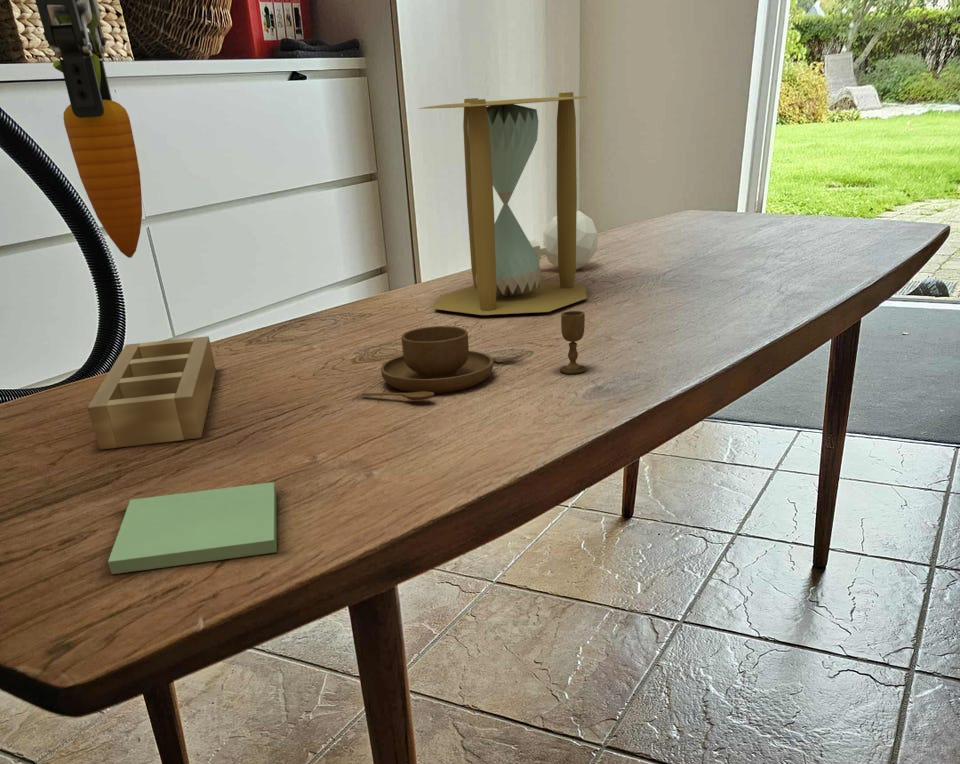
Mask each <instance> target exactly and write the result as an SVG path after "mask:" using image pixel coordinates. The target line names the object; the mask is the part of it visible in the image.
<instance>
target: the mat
mask: <svg viewBox="0 0 960 764" xmlns="http://www.w3.org/2000/svg"><path fill="white" fill-rule="evenodd" d="M277 507H278V506H277V489H276V483H275V482H274V481H271V482H270V481H269V482H262V483H255V484H247V485H240V486H239V485H238V486H230V487H223V488H214V489H206V490H197V491H189V492H181V493H173V494H166V495H157V496H150V497H141V498H133V499H130V500H129V502H128V505H127V507H126V510H125V513H124V516H123V518H122V521H121V524H120V527H119V530H118V532H117V535H116V538H115V541H114V544H113V546H112V549H111V552H110V555H109V558H108V561H107V563H108V567H109V570H110V574H111V575H118V574H125V573H133V572H140V571H141V572H142V571H147V570H156V569H164V568H169V567H170V568H171V567H177V566H187V565H192V564H199V563H200V564H201V563H208V562H216V561H224V560H230V559H237V558H245V557H252V556H260V555H268V554H275V553H277V550H278V548H277V547H278V545H277V543H278V541H277V539H278V537H277V536H278V535H277V534H278V532H277V525H278V522H277V521H278V519H277V513H278V512H277V509H278V508H277Z"/></svg>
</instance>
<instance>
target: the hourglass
mask: <svg viewBox="0 0 960 764" xmlns="http://www.w3.org/2000/svg"><path fill="white" fill-rule="evenodd" d="M586 98H588V96H583V95H582V96H575V95H574V92H573V91H568V92H559V93H558V96H556V97H555V96H554V97H531V98H516V99H514V98H513V99H503V100H502V99H500V100H487V101H486V98H482V99H481V98H480V99H479V98H478V97H474V98H464V99H463V102H462V103H461V102H459V103H449V104H447V103H446V104H438V105H431V106H424V107H420V108H417V109H418V110H421V109H422V110H424V109H453V108H463V123H462V128H463V129H462V130H463V150H464V169H465V170H464V171H465V172H464V173H465V191H466V193H465V194H466V209H467V211H466V212H467V224H468V237H469V239H468V240H469V251H470V266H471V274H472V281H473V285H471V286H467V287H464V288H461V289H458V290H454V291H451V292H447V293H443V294H441V295H439V297H438V299H437V301H436V303H435V305H434V307H433V310H440V311H445V312H446V311H447V312H453V313H454V312H455V313H462V314H471V315H477V316H478V315H479V316H491V315H492V316H493V315H509V314H529V313H530V314H531V313H550V312H552V311H555V310H557V309H561V308H563V307H566V306H569V305H572V304H574V303H578V302H580V301H584V300H586V299H588V295H587V290H586V285H585V284H576V283H575V280H576V272H577V270H576V214H577V211H578V210H577V206H578V205H577V204H578V202H577V201H578V197H577V196H578V195H577V194H578V192H577V190H578V189H577V188H578V187H577V185H578V184H577V117H576V108H575V100H577V99H586ZM557 101H558V102H557ZM545 102H557V114H556V216H557V236H558V267H557V268H558V279H559V282H553V281H542V271H541V266H540V260H539V259H538V257H537V255H536V253H535V251H534V249H533V247H532V246H531V244H530V242H529V241H530V240H529V239H528V237H527V235H526V233H525V232H524V230H523V228H522V226H521V225H520V223H519V221H518V219H517V218H516V216H515V214H514V213H513V211H512V209H511V208H510V205H509V202H510V200H511V198H512V196H513V194H514V191H515V189H516V187H517V185H518V182H519V181H520V178H521V176H522V174H523V172H524V170H525V167H526V166H527V164H528V161H529V160H530V157H531V155H532V152H533V151H534V149H535V146H536V143H537V141H538V133H539V117H538V111H537V110H538V109H536V108H532V107H528V106H524V105H522V104H534V103H535V104H536V103H545ZM519 104H521V105H519ZM494 190H495V192H496V194H497V195H498V197H499V200H500V201H501V202H502V207H501V209H500V211H499V213H498V215H497V217H496V220H495V203H494V202H495V201H494Z"/></svg>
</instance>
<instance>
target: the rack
mask: <svg viewBox="0 0 960 764" xmlns="http://www.w3.org/2000/svg"><path fill="white" fill-rule="evenodd" d="M212 350H213V349H212V345H211V341H210V336H208V335H207V336H199V337H198V336H197V337H187V338H178V339H177V338H176V339H167V340H157V341H147V342H138V343H128V344H125V345H124V346H123V348H122V350H121V351H120V353H119V355H118V356H117V358H116V360H115V362H114V363H113V364H112V366H111V368H110V370H109V372H108V373H107V374H106V376H105V377H104V380H103V381H102V383H101V385H100V386H99V388H98V389H97V391H96V392H95V394H94V396H93V398H92V400H91V401H90V403H89V404H88V406H87V410H88V414H89V418H90V420H91V424H92V428H93V431H94V435H95V438H96V442H97V445H98V448H99V450H101V451H102V450H111V449H117V448H119V449H120V448H128V447H136V446H145V445H155V444H162V443H172V442H178V441H179V442H180V441H186V440H187V441H188V440H196V439H197V440H198V439H202V437H203V433H204V428H205V423H206V419H207V414H208V410H209V409H208V408H209V405H210V401H211V396H212V391H213V386H214V382H215V381H214V380H215V377H216V372H217V369H216V363H215V359H214V355H213V351H212Z"/></svg>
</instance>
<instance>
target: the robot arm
mask: <svg viewBox="0 0 960 764" xmlns="http://www.w3.org/2000/svg"><path fill="white" fill-rule="evenodd" d="M34 1H35V4H36V8H37V12H38V14H39V19H40V21H41V25H42V29H43V36H44V39H45V41H46V42H47V44H48V46H49V47H51V49H52V53H54V55H55V57H56V58H57V59H59V61H60V63H61V67H62V71H63V73H62V76H63V78H64V83H65V86H66V91H67V95H68V98H69V102H70V104H71V107H72V111H73V113H74V115H75V116H77V117H79V118H85V117H99V116H102V115H103V114H104V106H103V102H102V100H110V101H113V98H112V94H111V90H110V85H109V81H108V77H107V73H106V69H105V64H104V60H105V55H106V45H107V43H106V39H105V37H104V35H103V30H102V24H101V12H100V8H99V5H98V1H97V0H34ZM92 53H93V54H95V55H96V56H98V57H99V62H100V71H101V82H100V89H99V85H98V80H97V76H96V72H95V68H94V63H93V59H92V58H86V56H92ZM60 58H61V59H60Z"/></svg>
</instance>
